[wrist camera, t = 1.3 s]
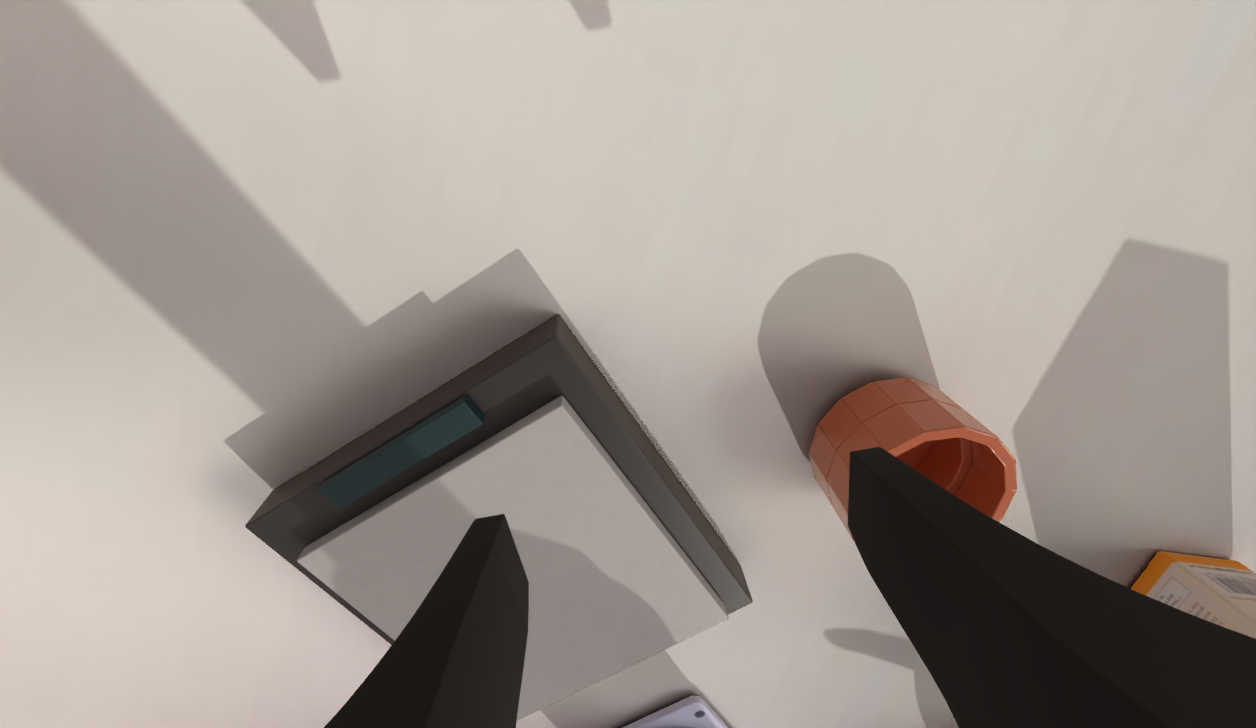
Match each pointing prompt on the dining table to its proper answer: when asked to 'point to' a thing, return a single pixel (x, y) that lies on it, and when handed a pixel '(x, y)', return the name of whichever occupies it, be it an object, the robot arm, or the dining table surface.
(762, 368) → the dining table surface
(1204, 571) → the supplement box
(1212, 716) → the robot arm
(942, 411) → the cup
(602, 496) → the scale
